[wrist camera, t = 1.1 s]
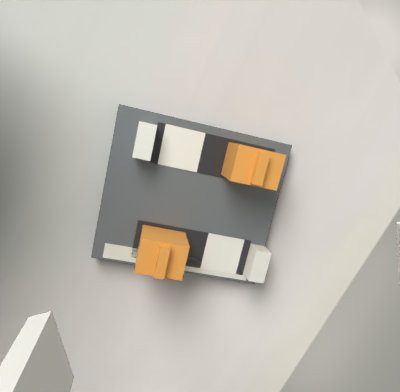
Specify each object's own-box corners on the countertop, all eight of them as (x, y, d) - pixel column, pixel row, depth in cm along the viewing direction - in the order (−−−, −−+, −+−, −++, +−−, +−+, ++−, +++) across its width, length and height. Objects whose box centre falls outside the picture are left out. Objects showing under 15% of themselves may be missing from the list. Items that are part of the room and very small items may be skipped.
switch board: (93, 251, 33) (86, 266, 29) (120, 105, 30) (116, 102, 27) (250, 277, 35) (260, 293, 32) (285, 144, 33) (301, 146, 30)
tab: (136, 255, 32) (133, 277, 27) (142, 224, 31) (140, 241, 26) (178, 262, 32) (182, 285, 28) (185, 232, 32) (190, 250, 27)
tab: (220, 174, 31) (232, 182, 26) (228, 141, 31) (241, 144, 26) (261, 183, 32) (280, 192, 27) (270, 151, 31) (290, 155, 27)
